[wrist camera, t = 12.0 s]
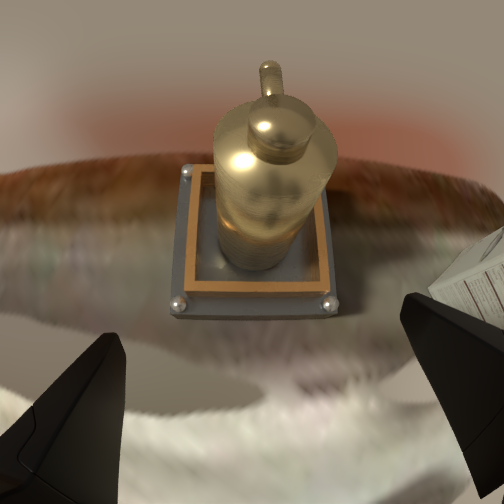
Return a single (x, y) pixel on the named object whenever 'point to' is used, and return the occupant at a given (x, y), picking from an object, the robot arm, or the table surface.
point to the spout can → (268, 172)
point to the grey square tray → (242, 280)
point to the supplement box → (476, 281)
